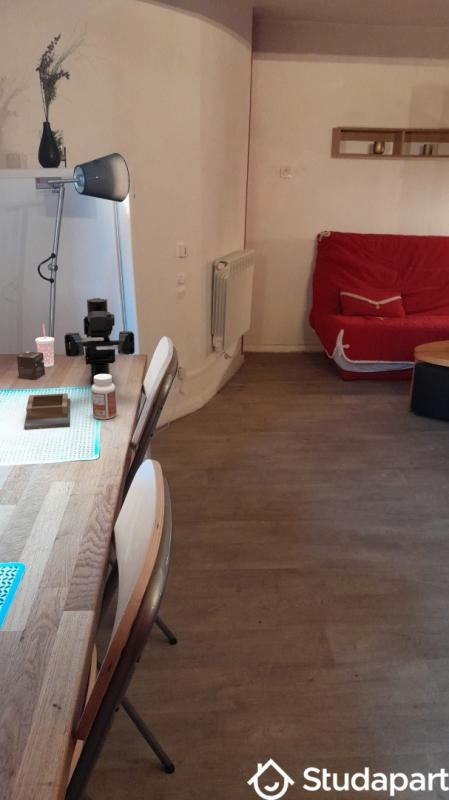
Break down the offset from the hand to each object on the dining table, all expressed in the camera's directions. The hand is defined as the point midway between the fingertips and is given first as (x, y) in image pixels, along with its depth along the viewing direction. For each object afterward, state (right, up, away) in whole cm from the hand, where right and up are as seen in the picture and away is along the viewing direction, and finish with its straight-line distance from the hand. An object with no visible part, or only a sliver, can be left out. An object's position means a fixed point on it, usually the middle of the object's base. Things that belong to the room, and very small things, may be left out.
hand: (101, 352), depth 148 cm
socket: (-14, -17, +2) cm, 22 cm away
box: (-29, -5, +31) cm, 43 cm away
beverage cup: (-28, -1, +43) cm, 51 cm away
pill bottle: (0, -17, +3) cm, 17 cm away
